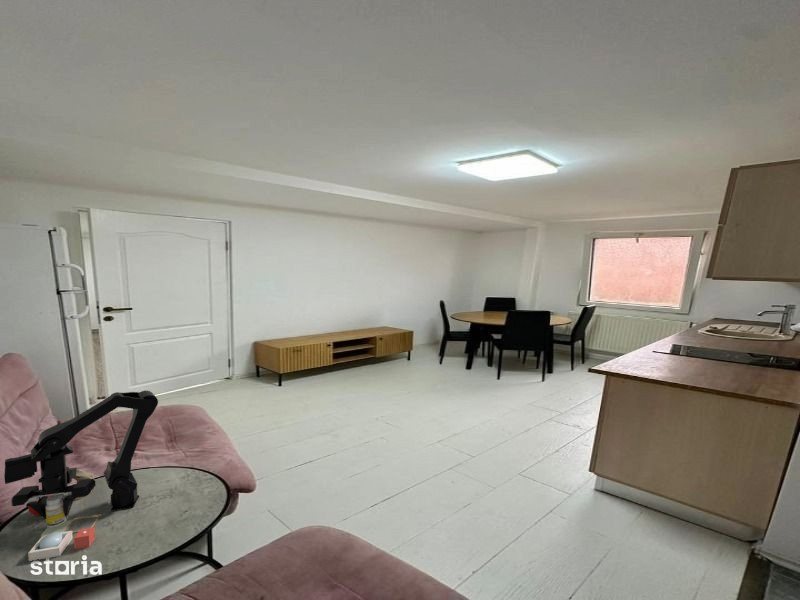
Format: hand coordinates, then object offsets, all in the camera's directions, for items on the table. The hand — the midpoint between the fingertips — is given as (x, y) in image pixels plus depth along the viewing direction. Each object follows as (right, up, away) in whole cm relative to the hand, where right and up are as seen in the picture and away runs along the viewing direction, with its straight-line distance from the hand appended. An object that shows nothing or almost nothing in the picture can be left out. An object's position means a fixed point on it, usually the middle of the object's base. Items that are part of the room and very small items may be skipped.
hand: (56, 517), depth 115 cm
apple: (-10, -3, +7) cm, 12 cm away
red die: (+13, -5, -5) cm, 15 cm away
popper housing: (+6, -5, -8) cm, 11 cm away
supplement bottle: (0, -2, 0) cm, 2 cm away
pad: (0, -4, 0) cm, 4 cm away
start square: (+6, -4, +2) cm, 7 cm away
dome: (+6, -4, -8) cm, 11 cm away
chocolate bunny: (-7, -2, +16) cm, 18 cm away
